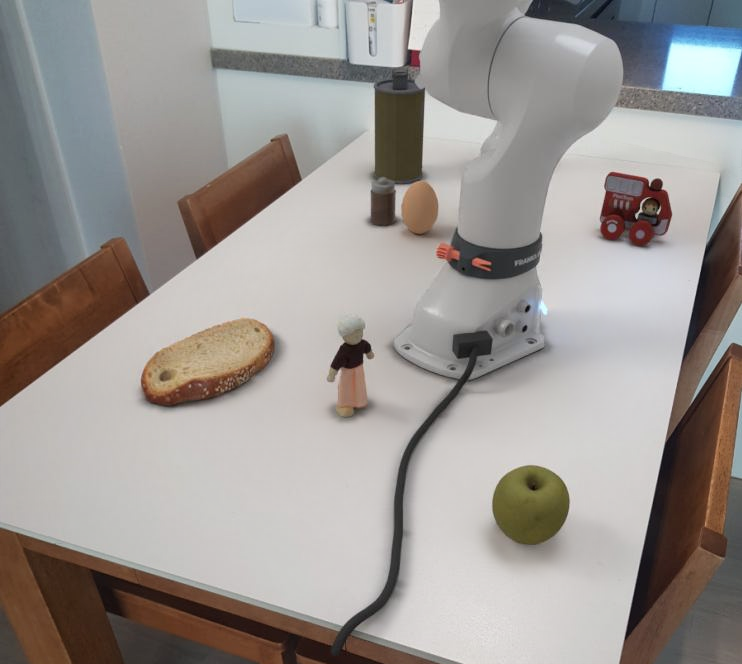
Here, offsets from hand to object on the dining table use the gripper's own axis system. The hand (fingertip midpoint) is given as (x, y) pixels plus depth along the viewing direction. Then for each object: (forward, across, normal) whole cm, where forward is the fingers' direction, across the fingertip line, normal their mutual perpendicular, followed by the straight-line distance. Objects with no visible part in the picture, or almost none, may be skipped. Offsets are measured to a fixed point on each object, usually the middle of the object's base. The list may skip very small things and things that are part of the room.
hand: (432, 80), depth 123 cm
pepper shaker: (+24, +1, +10) cm, 25 cm away
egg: (+18, +3, +16) cm, 25 cm away
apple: (-9, +67, +52) cm, 85 cm away
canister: (+29, -22, +2) cm, 37 cm away
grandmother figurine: (+8, +56, +31) cm, 65 cm away
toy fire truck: (-4, -14, +42) cm, 44 cm away
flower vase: (+17, -38, +15) cm, 44 cm away
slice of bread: (+22, +58, +14) cm, 63 cm away
